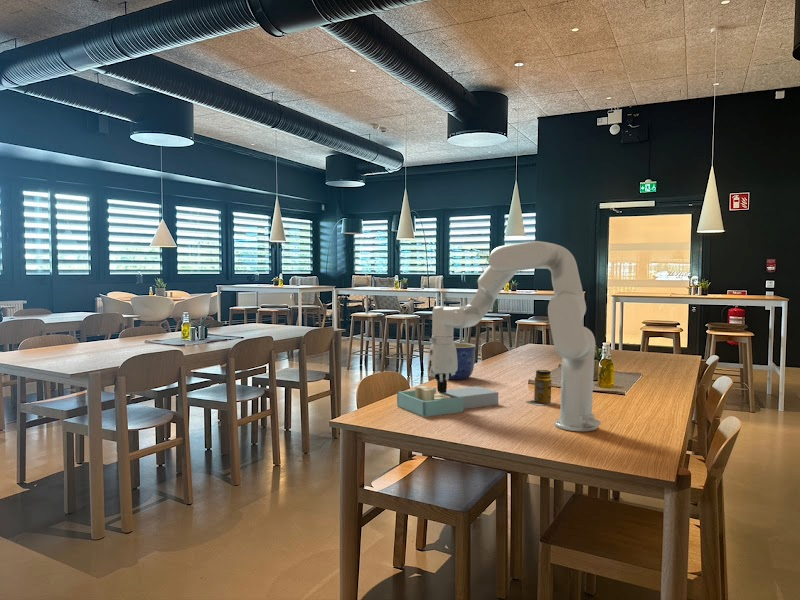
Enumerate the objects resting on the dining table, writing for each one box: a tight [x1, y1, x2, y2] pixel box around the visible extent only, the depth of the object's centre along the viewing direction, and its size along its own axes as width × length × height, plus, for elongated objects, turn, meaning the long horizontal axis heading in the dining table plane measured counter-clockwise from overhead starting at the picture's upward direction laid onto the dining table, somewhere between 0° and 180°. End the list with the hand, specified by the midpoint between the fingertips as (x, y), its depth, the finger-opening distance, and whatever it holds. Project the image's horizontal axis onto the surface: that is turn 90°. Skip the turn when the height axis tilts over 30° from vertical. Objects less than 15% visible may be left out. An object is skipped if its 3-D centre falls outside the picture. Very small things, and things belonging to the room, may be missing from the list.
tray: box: [396, 387, 464, 418], centre depth 198 cm, size 18×16×5 cm
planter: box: [448, 342, 476, 381], centre depth 258 cm, size 17×17×15 cm
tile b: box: [414, 385, 434, 401], centre depth 197 cm, size 7×7×4 cm
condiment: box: [525, 369, 555, 406], centre depth 210 cm, size 7×8×12 cm
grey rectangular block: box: [438, 386, 499, 410], centre depth 207 cm, size 12×18×4 cm, turn 120°
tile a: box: [434, 393, 451, 400], centre depth 200 cm, size 7×7×4 cm
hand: (441, 392), depth 201 cm, fingers closed
